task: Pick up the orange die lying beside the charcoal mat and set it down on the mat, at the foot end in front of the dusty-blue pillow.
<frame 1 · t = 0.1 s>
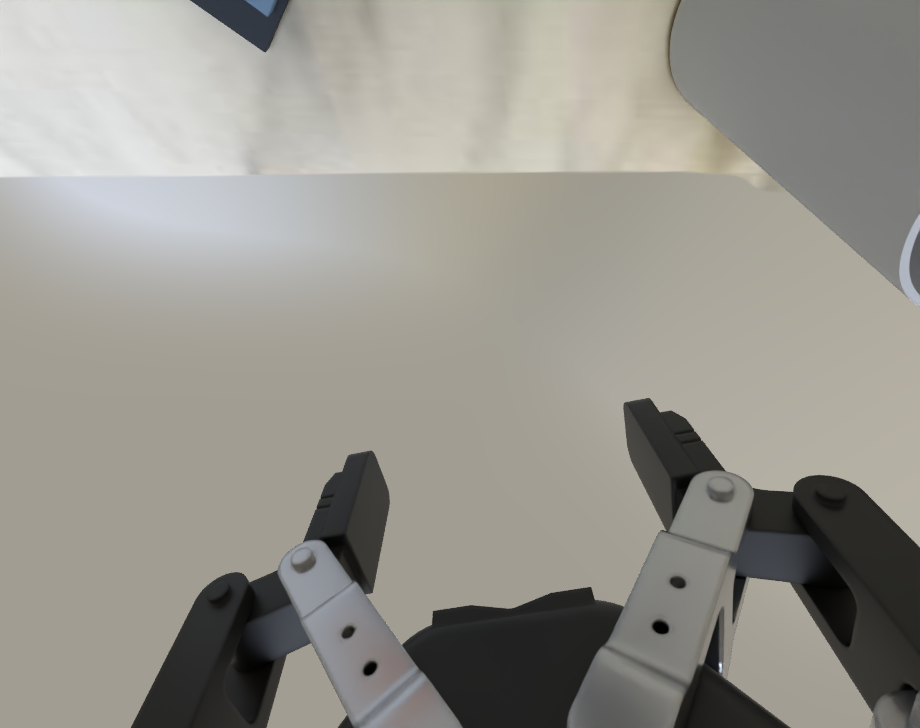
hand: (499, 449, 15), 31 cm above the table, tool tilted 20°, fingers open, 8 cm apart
cylinder vase: (753, 17, 34), on the table
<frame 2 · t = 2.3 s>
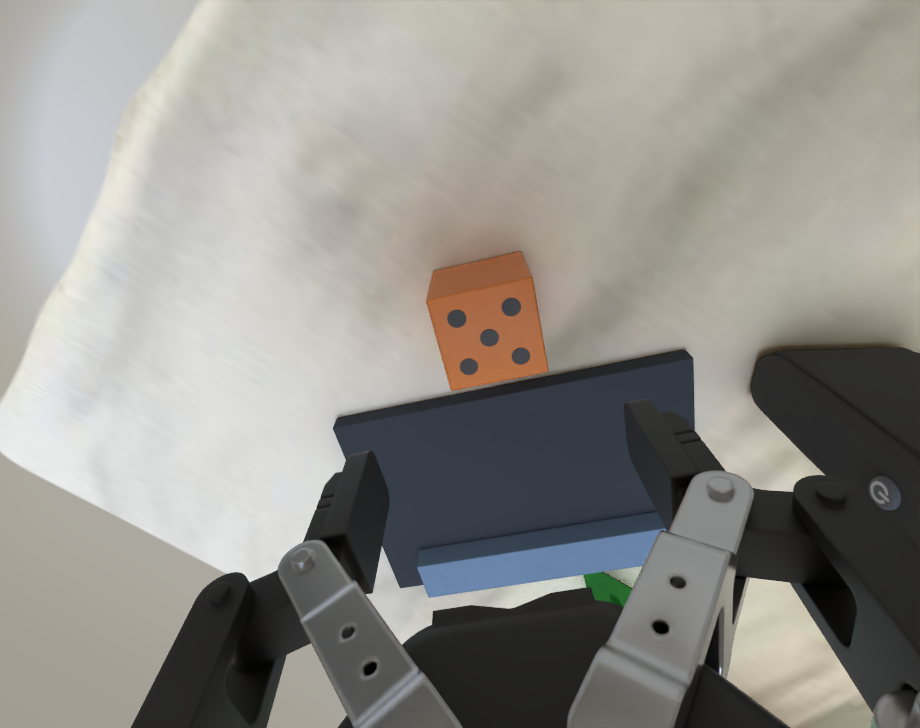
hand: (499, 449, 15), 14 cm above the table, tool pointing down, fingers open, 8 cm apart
bed mat: (524, 477, 33), on the table
pipe clamp: (628, 605, 39), on the table
dark grey rounded box: (819, 372, 29), on the table
die: (485, 302, 27), on the table
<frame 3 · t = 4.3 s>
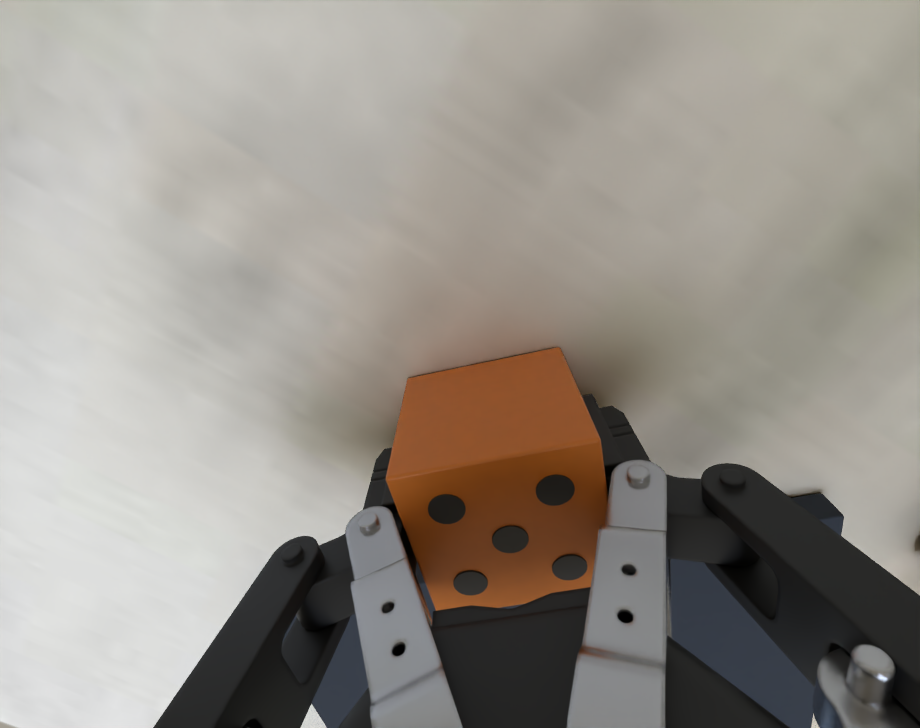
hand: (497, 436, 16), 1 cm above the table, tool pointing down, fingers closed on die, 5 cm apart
bed mat: (552, 658, 22), on the table
die: (497, 425, 16), on the table, touching gripper
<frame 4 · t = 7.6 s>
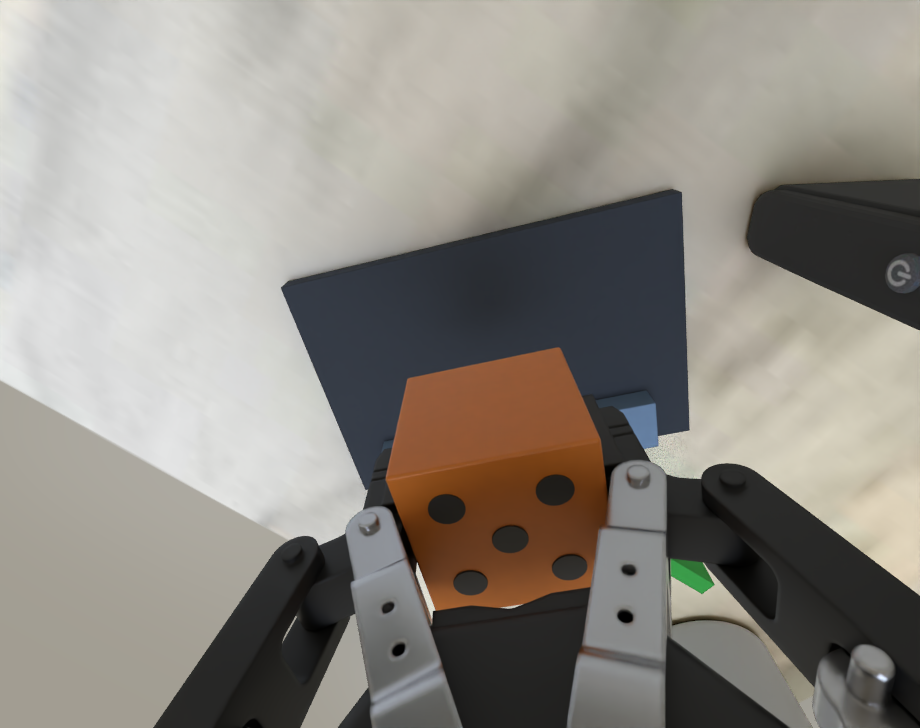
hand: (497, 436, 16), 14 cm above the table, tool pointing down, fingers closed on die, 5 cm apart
bed mat: (498, 355, 30), on the table
pipe clamp: (616, 513, 36), on the table
dark grey rounded box: (823, 218, 26), on the table
cylinder vase: (690, 658, 44), on the table
die: (497, 425, 16), point 13 cm above the table, touching gripper
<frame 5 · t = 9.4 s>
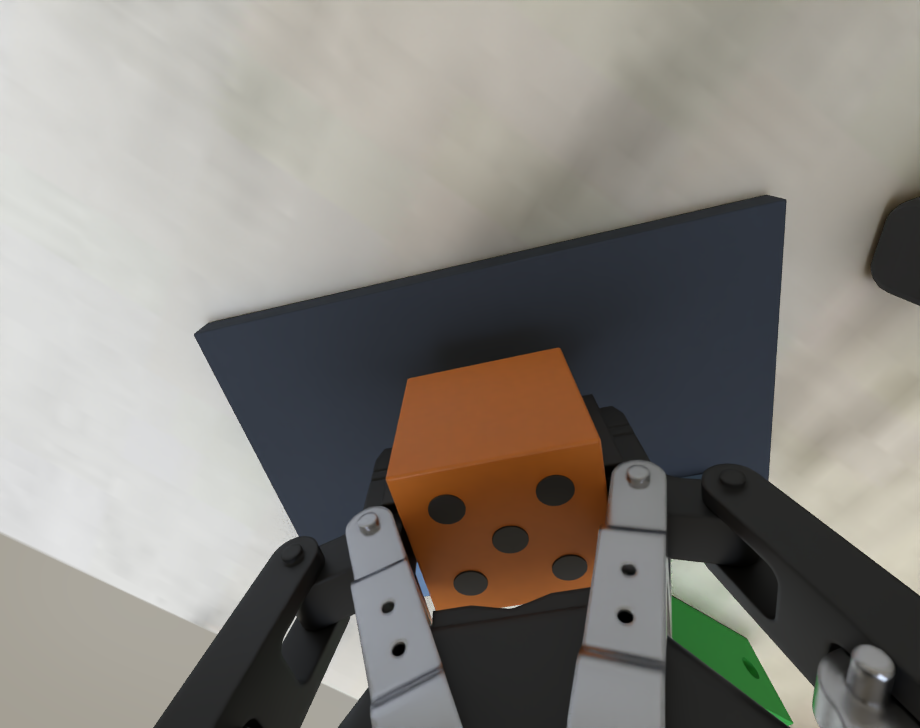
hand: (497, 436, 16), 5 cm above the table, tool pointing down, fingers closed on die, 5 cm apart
bed mat: (505, 422, 22), on the table
pipe clamp: (656, 613, 28), on the table
die: (497, 426, 16), point 5 cm above the table, touching gripper
when the fingers open (2 cm above the table, at t = 10.8 s): die stays where it is, resting on bed mat.
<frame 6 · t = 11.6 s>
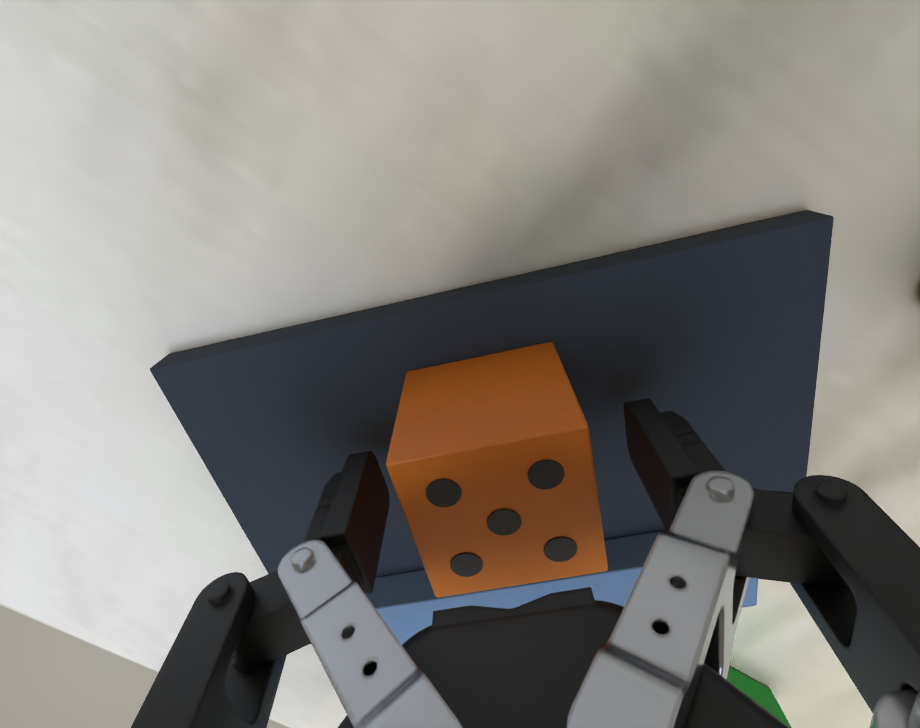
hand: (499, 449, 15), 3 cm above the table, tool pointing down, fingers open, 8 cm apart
bed mat: (506, 461, 19), on the table
pipe clamp: (671, 662, 25), on the table
die: (492, 417, 17), point 1 cm above the table, touching bed mat
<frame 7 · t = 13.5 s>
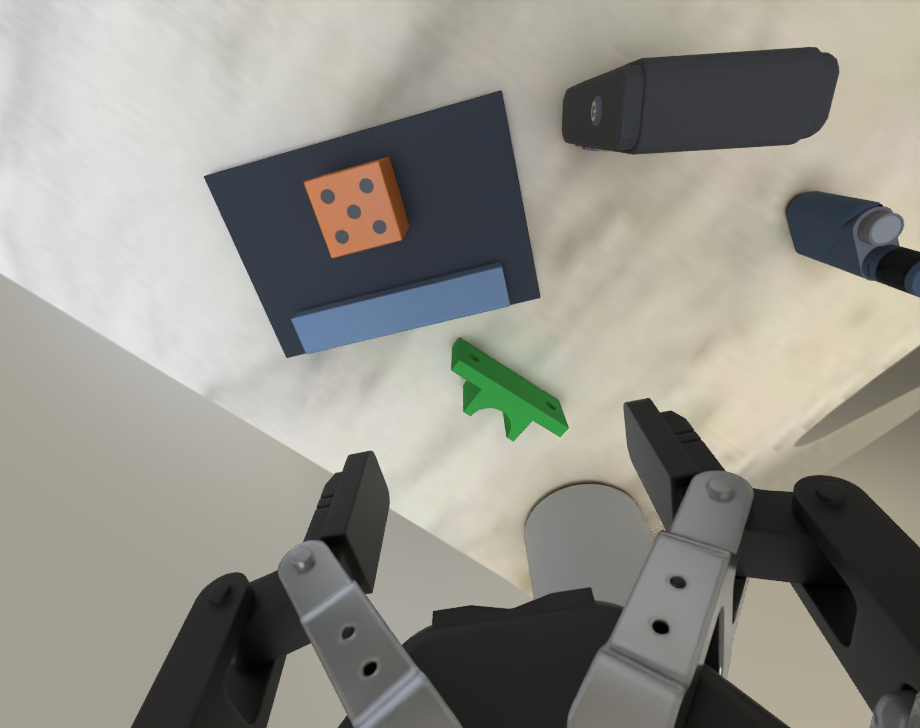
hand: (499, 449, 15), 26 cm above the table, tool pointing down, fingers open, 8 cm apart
bed mat: (383, 237, 38), on the table
pipe clamp: (498, 382, 44), on the table
vaping device: (803, 223, 37), on the table
dark grey rounded box: (620, 114, 34), on the table
cylinder vase: (581, 524, 51), on the table
die: (367, 201, 35), point 1 cm above the table, touching bed mat
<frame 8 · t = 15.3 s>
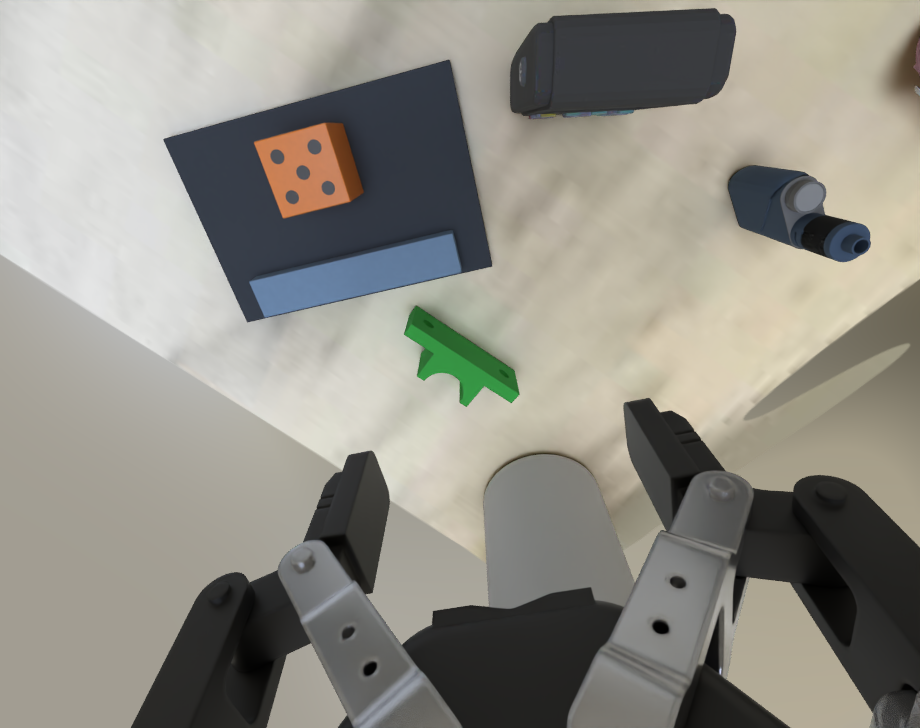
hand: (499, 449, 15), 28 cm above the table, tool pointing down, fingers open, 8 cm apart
bed mat: (340, 204, 39), on the table
pipe clamp: (455, 351, 45), on the table
vaping device: (745, 197, 39), on the table
dark grey rounded box: (566, 87, 35), on the table
cylinder vase: (540, 495, 52), on the table
die: (322, 167, 37), point 1 cm above the table, touching bed mat
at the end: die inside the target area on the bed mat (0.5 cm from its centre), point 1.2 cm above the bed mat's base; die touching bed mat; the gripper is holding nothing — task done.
